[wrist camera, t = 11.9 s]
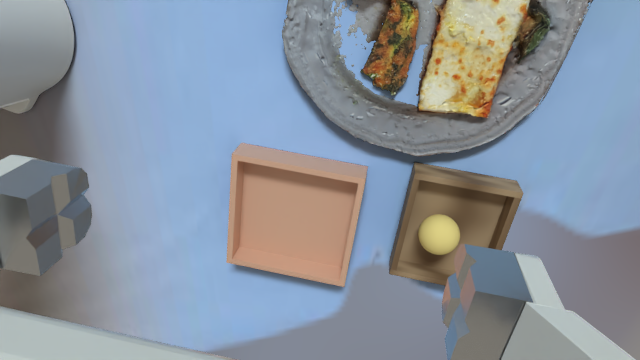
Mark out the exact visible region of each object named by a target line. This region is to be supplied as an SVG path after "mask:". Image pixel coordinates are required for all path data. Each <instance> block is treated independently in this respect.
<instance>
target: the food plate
mask: <svg viewBox="0 0 640 360" xmlns="http://www.w3.org/2000/svg"><path fill="white" fill-rule="evenodd" d="M333 1H334V0H288V5H287V11H286V14H287V16H288V17H287V18H286V20H284V22H285V26H283V28H284V30H282V38H283V41H284V50H285V54H286V56H287V60H288V63H289V65H290V67H291V69H292V72H293V73H294V75H295V76H296V78H297V79H298V81H299V83H300V85H301V87H302V88H303V89H304V90H305V92H306V93H307V94H308V95H309V97H310V98H312V100H313V101H314V103H316V105H317V106H318V107H319V108H320V110H321V111H322V112H323V113H324V115H325V116H326V117H327V118H329V119H330V120H331V121H333V122H334V123H335V124H336V125H338V126H339V127H341V128H342V129H343V130H345V131H347V132H349V133H350V134H351V135H353V136H354V138H361V139H363V140H364V141H367V142H369V143H372V144H375V145H378V146H382V147H385V148H389V149H393V150H396V151H400V152H403V153H406V154H411V155H413V156H429V155H434V154H436V155H437V154H441V153H452V152H453V153H455V152H457V153H458V152H459V151H462V150H466V149H471V148H473V147H477V146H480V145H483V144H484V143H488V142H490V141H492V140H494V139H496V138H498V137H499V136H501V135H502V134H505V133H506V132H507V131H508V130H511V129H512V128H513V127H514V126H515V125H516V124H517V123H518V122H519V121H520V120H522V119H523V118H524V117H525V116H527V115H528V114H530V113H531V112H532V111H534V109H535V108H536V107H537V105H539V102H540V100H541V98H542V97H543V96H544V95H545V96H546V94H547V92H548V91H549V89H550V87H551V85H552V83H553V81H554V79H555V77H556V76H557V74H558V72H559V70H560V68H561V66H562V64H563V61H564V60H565V58H566V56H567V54H568V51H569V50H570V47H571V45H572V43H573V41H574V39H575V37H576V35H577V33H578V31H579V29H580V27H581V25H582V22H583V20H584V18H585V17H584V15H585V14H587V11H588V9H587V7H588V6H589V5H588V3H589V2H591V3H592V1H593V0H432V2H430V0H352V1H353V3H352V5H351V6H350V8H349V10H350V11H353V12H354V11H355V10H357V11H358V12H357V14H356V22H355V24H354V25H350V27H349V29H348V30H349V33H347V34H348V36H350V35H351V33H352V32H354V33H355V32H357V28H358V27H360V28H361V30H362V32H363V33H364V34H363V35H365V34H367V39H366V41H367V42H368V43H370V42H371V41H374V40H375V41H376V42H375V43H374V46H373V48H372V51H371V54H370V55H369V58H368V60H367V62H366V63H365V66H364V68H363V69H361V71H360V72H361V73H364V74H366V75H368V76H369V77H371V78H372V79H373V85H375V86H376V87H380V88H382V89H384V90H385V89H386V90H387V91H390V92H391V95H392V96H393V95H395V94H396V93H397V91H398V90H399V88H400V87H401V86H402V85H403V84H404V83H405V82H406V79H407V77H408V75H407V72H408V70H409V64H410V63H411V61H412V57H413V54H414V52H415V50H417V49H418V48H419V45H421V44H428V46H427V47H426V48H425V49H424V56H423V67H422V71H421V73H420V75H419V78H421V80H420V82H419V91H418V94H416V96H418V95H420V99H419V102H418V107H416V106H415V105H411V104H406V103H403V102H400V101H396V100H394V99H390V98H387V97H384V96H382V95H377V94H374V93H373V92H372V91H371V90H369V89H368V88H366V87H364V85H362V82H361V81H359V80H357V79H355V74H354V73H353V72H352V71H350V70H348V69H347V68H346V65H345V60H344V57H345V58H346V55H345V56H344V55H340V53H339V49H338V48H340V47H341V44H342V42H340V40H341V39H342V37H341V35H340V31H336V34H333V30H334V28H338V27H341V25H340V24H339V26H335V19H334V17H335V16H337V17H338V19H339V16H340V17H341V15H342V11H341V10H342V9H344V8H345V7H347V2H346V3H345V6H344V5H342V9H339V10H338V13H337V12H336V9H337V7H339V5H340V2H343V1H347V0H335V2H336V3H337V4H336V6H335V7H334V13H332V11H331V7H332V2H333ZM356 4H357V5H358V7H356ZM424 11H425V12H424ZM336 14H337V15H336ZM382 15H383V16H382ZM585 16H586V15H585ZM583 17H584V18H583ZM339 21H340V20H339ZM382 23H383V25H382ZM579 26H580V27H579ZM352 27H354V29H353V28H352ZM421 27H422V28H421ZM578 28H579V29H578ZM577 29H578V31H577ZM576 32H577V33H576ZM575 33H576V34H575ZM354 36H355V34H354ZM369 37H370V38H369ZM355 38H356V37H355ZM342 41H343V39H342ZM356 45H357V44H356ZM361 45H362V44H361ZM364 47H365V46H364ZM365 49H366V48H365ZM352 66H354V64H353V65H352ZM424 70H425V71H424ZM556 72H557V73H556ZM555 74H556V75H555ZM554 76H555V77H554ZM553 78H554V79H553ZM552 80H553V81H552ZM551 82H552V83H551ZM550 84H551V85H550ZM549 86H550V87H549ZM548 88H549V89H548ZM382 89H381V90H382ZM547 89H548V90H547ZM546 91H547V92H546ZM545 93H546V94H545ZM542 95H543V96H542ZM545 96H544V97H543V99H544V98H545ZM542 101H543V100H542ZM540 104H541V103H540ZM537 109H538V108H537ZM358 140H359V139H358Z"/></svg>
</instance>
